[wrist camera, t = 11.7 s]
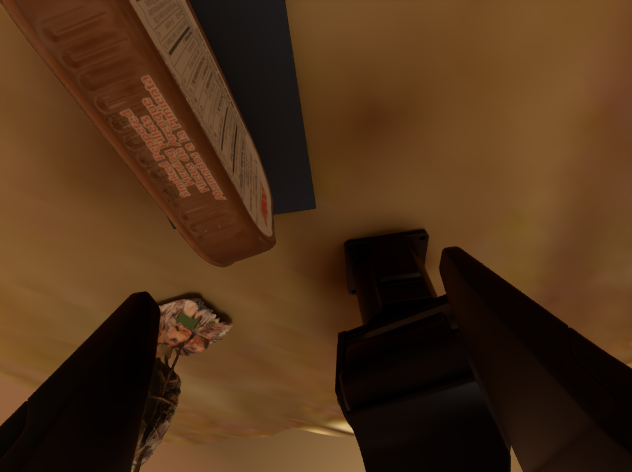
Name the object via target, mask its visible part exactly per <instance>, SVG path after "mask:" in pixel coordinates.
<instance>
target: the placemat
mask: <svg viewBox="0 0 632 472" xmlns="http://www.w3.org/2000/svg"><path fill="white" fill-rule="evenodd" d="M189 2H190V4H191V6H192V8H193V10H194V13H195V15H196V17H197V19H198V21H199V23H200V25H201V27H202V29H203V32H204V34H205V36H206V38H207V40H208V42H209V44H210V47H211V49H212V51H213V53H214V55H215V57H216V60H217V62H218V64H219V66H220V68H221V70H222V73H223V75H224V77H225V79H226V81H227V84H228V86H229V88H230V91H231V93H232V95H233V97H234V100H235V102H236V104H237V106H238V108H239V111H240V113H241V115H242V118H243V120H244V122H245V124H246V126H247V129H248V131H249V133H250V135H251V137H252V140H253V142H254V144H255V147H256V149H257V152H258V154H259V157H260V159H261V162H262V165H263V168H264V171H265V174H266V177H267V180H268V183H269V186H270V190H271V194H272V198H273V215H274V214H281V213H288V212H295V211H302V210H309V209H315V208H316V204H315V198H314V191H313V184H312V178H311V171H310V164H309V158H308V151H307V144H306V138H305V131H304V124H303V118H302V111H301V104H300V98H299V91H298V84H297V78H296V71H295V64H294V58H293V51H292V44H291V38H290V31H289V24H288V18H287V11H286V4H285V0H189ZM167 218H168V217H167ZM168 220H169V218H168ZM169 221H170V220H169ZM170 223H171V225H172V227H173V228H174V229H176V227H175V226H174V225H173V223H172V222H171V221H170Z"/></svg>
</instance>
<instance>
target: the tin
mask: <svg viewBox="0 0 632 472" xmlns="http://www.w3.org/2000/svg"><path fill="white" fill-rule="evenodd" d="M0 2H1V4H2V5H3V6H4V8H5V9H6V11H7V12H8V13H9V15H10V16H11V18H12V19H13V21H14V22H15V24H16V25H17V26H18V28H19V29H20V31H21V32H22V33H23V35H24V36H25V37H26V39H27V40H28V42H29V43H30V44H31V45H32V47H33V48H34V49H35V50H36V52H37V53H38V54H39V55H40V57H41V58H42V59H43V61H44V62H45V63H46V65H47V66H48V67H49V68H50V69H51V71H52V72H53V73H54V74H55V76H56V77H57V78H58V79H59V81H60V82H61V83H62V84H63V86H64V87H65V88H66V89H67V91H68V92H69V93H70V94H71V96H72V97H73V98H74V99H75V101H76V102H77V103H78V104H79V106H80V107H81V108H82V109H83V111H84V112H85V113H86V115H87V116H88V117H89V119H90V120H91V121H92V122H93V124H94V125H95V126H96V127H97V129H98V130H99V131H100V132H101V134H102V135H103V136H104V137H105V139H106V140H107V141H108V142H109V143H110V145H111V146H112V148H113V149H114V150H115V151H116V153H117V154H118V155H119V156H120V157H121V159H122V160H123V161H124V162H125V164H126V165H127V166H128V167H129V169H130V170H131V171H132V173H133V174H134V175H135V176H136V178H137V179H138V180H139V182H140V183H141V184H142V186H143V187H144V188H145V189H146V190H147V191H148V193H149V194H150V195H151V197H152V198H153V199H154V201H155V202H156V203H157V205H158V206H159V207H160V209H161V210H162V211H163V212H164V213H165V215H166V216H167V217H168V218H169V220H170V221H171V222H172V223H173V225H174V226H175V227H176V229H177V230H178V231H179V233H180V234H181V235H182V237H183V238H184V239H185V240H186V241H187V243H188V244H189V245H190V246H191V247H192V249H193V250H194V251H195V252H196V253H197V254H198V255H199V256H200V257H202V258H203V259H204V260H206V261H207V262H209V263H210V264H212V265H215V266H218V267H227V266H230V265H232V264H233V263H234V262H236V261H239V260H242V259H245V258H248V257H251V256H255V255H258V254H260V253H263V252H265V251H268V250H270V249H271V248H273V247H274V245H275V244H276V238H275V233H274V220H273V198H272V194H271V190H270V186H269V183H268V180H267V177H266V174H265V171H264V168H263V165H262V162H261V159H260V157H259V154H258V152H257V149H256V147H255V144H254V142H253V140H252V137H251V135H250V133H249V131H248V129H247V126H246V124H245V122H244V120H243V118H242V115H241V113H240V111H239V108H238V106H237V104H236V102H235V100H234V97H233V95H232V93H231V91H230V88H229V86H228V84H227V81H226V79H225V77H224V75H223V73H222V70H221V68H220V66H219V64H218V62H217V60H216V57H215V55H214V53H213V51H212V49H211V47H210V44H209V42H208V40H207V38H206V36H205V34H204V32H203V29H202V27H201V25H200V23H199V21H198V19H197V17H196V15H195V13H194V10H193V8H192V6H191V4H190V2H189V0H0Z"/></svg>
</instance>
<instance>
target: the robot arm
mask: <svg viewBox="0 0 632 472" xmlns="http://www.w3.org/2000/svg"><path fill="white" fill-rule="evenodd" d="M421 236H422V237H421ZM428 239H429V235H428V233H427V232H426V231H425V230H418V231H411V232H404V233H397V234H389V235H382V236H375V237H368V238H361V239H354V240H349V241H347V242H346V243H345V244H344V248H345V260H346V272H347V284H348V292H349V294H351V295H356V294H357V299H358V303H359V308H360V313H361V318H362V322H363V325H362V326H360V327H357V328H354V329H352V330H349V331H343V332H340V333H338V344H337V361H336V381H335V392H336V395H337V401H338V404H339V405H340V407H341V410H342V412H343V414H344V417H345V418H346V420H347V422H348V424H349V425H350V426H351V427H352V429H353V431H354V434H355V436H356V439H357V442H358V444H359V447H360V451H361V455H362V458H363V462H364V466H365V470H366V472H511V455H510V450H511V446H512V448H513V450H514V453H515V455H516V457H517V459H518V462H519V464H520V466H521V468H522V470H523V472H632V368H630V367H629V366H627V365H625V364H624V363H622V362H621V361H619V360H618V359H616V358H615V357H613V356H611V355H610V354H608V353H607V352H605V351H604V350H602V349H601V348H599V347H598V346H597V345H595V344H594V343H592V342H591V341H589V340H588V339H586V338H585V337H584V336H582V335H581V334H579V333H578V332H577V331H575V330H574V329H572V328H571V327H569V328H568V325H567V324H565V323H564V322H563V321H561V320H560V319H558V318H557V317H556V316H554V315H553V314H551V313H550V312H549V311H547V310H546V309H544V308H543V307H542V306H540V305H539V304H537V303H536V302H535V301H533V300H532V299H531V298H529V297H528V296H526V295H525V294H524V293H522V292H521V291H519V290H518V289H517V288H515V287H514V286H512V285H511V284H510V283H508V282H507V281H505V280H504V279H503V278H501V277H500V276H499V275H497V274H496V273H494V272H493V271H492V270H490V269H489V268H487V267H486V266H485V265H483V264H482V263H480V262H479V261H478V260H476V259H475V258H473V257H472V256H471V255H469V254H468V253H467V252H465V251H464V250H462V249H461V248H459V247H457V246H454V247H447V248H444V249H443V250H442V255H441V260H440V266H439V270H440V275H441V278H442V281H443V285H444V288H445V291H446V294H445V295H442V296H440V297H438V296H437V294H436V292H435V289H434V287H433V285H432V283H431V280H430V278H429V276H428V273H427V271H426V269H425V266H424V264H425V258H426V251H427V245H428ZM350 246H352V247H350ZM160 317H161V310H160V307H159V305H158V304H157V303H156V302H155V300H154V299H153V298H152V296H151V295H150V294H149V293H148V292H138V293H133V294H131V295H130V296H129V297H128V298H127V299H126V300H125V301H124V302H123V303H122V304H121V305H120V306H119V307H118V308H117V309H116V310H115V311H114V312H113V313H112V314H111V315H110V316H109V317H108V318H107V319H106V320H105V321H104V322H103V323H102V324H101V326H100V327H99V328H98V329H97V330H96V331H95V332H94V333H93V334H92V335H91V336H90V337H89V338H88V339H87V340H86V341H85V342H84V343H83V344H82V345H81V346H80V347H79V348H78V349H77V350H76V351H75V352H74V353H73V354H72V355H71V356H70V357H69V358H68V359H67V360H66V361H65V362H64V363H63V364H62V365H61V366H60V367H59V368H58V369H57V370H56V371H55V372H54V373H53V374H52V375H51V376H50V377H49V378H48V379H47V380H46V381H45V382H44V383H43V384H42V385H41V386H40V387H39V388H38V389H37V390H36V391H35V392H34V393H33V394H32V395H31V396H30V397H29V398H28V401H25V402H24V403H23V404H22V405H21V406H20V407H19V408H18V409H17V410H16V411H15V412H14V413H13V414H12V415H11V416H10V417H9V418H8V419H7V420H6V421H5V422H4V423H3V424H2V425H1V426H0V472H131V470H132V465H133V461H134V456H135V452H136V447H137V443H138V438H139V433H140V429H141V424H142V420H143V415H144V411H145V406H146V402H147V397H148V393H149V388H150V384H151V379H152V375H153V370H154V366H155V361H156V354H157V345H158V335H159V326H160Z"/></svg>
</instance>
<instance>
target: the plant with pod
mask: <svg viewBox="0 0 632 472" xmlns="http://www.w3.org/2000/svg"><path fill="white" fill-rule="evenodd" d="M203 304H204V303H203V302H201V299H198V298H186V299H181V300H178V301H177V300H175V301H173V302H170V303H168V304H164V305H162V306H159V307H160V310H161V317H160V326H159V335H158V345H157V354H156V361H155V366H154V370H153V375H152V379H151V384H150V388H149V393H148V397H147V402H146V406H145V411H144V415H143V420H142V424H141V429H140V433H139V438H138V443H137V447H136V452H135V456H134V461H133V465H132V470H131V471H133V472H139V470H140V466H141V465H143V464H144V463H145V462H146V461H147V460H148V459H149V458H150V456H151V455H152V454H153V452H154V450H155V449H156V448H157V447H158V445H159V444H160V443H161V440H162V438H163V436H164V434H165V433H166V431H167V429H168V427H169V425H170V422H171V421H172V418H173V416H174V414H175V413H176V412H177V405H178V397H179V395H180V393H181V390H180V386H181V380H180V378H179V376H178V375H177V374H176V373H175V372H174V371H173V370H174V366H175V364H176V362H177V360H178V357H179V355H187V356H190V355H194V354H197V353H200V352H202V351H204V350H205V349H206V348H207V347H208V345H209V346H210V344H211V343H212V341H213V342H215V341H214V340H222V335H226V333H225V332H228V331H229V329H231V328H233V327H232V324H230V325H228V324H229V323H225V322H222V323H218V322H219V319H220V317H219V318H217V319H215V317H216V315H215V314H212V313H211V312H212V311H214V310H209V309H208V307H207V308H204V307H205V306H202V305H203ZM214 319H215V320H214ZM173 348H174V349H175V350H176V354H177V356H176V358H175V361H174V363H173V365H172V367H171V368H170V367H169V365H168V359H169V358H170V357H171V353H172V350H173Z"/></svg>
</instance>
